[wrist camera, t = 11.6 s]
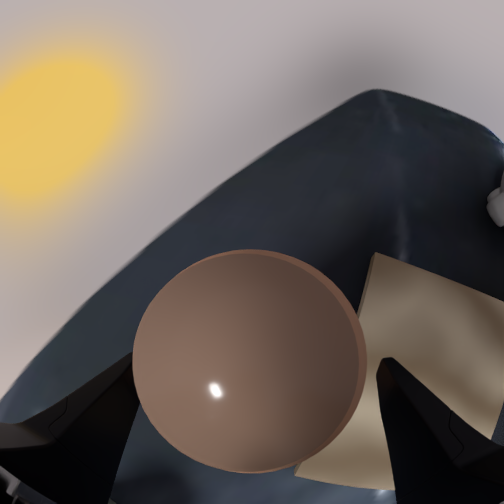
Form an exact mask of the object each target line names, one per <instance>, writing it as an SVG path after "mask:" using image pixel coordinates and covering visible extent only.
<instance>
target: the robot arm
mask: <svg viewBox="0 0 504 504" xmlns="http://www.w3.org/2000/svg"><path fill="white" fill-rule="evenodd" d="M376 382H377V389H378V398H379V406H380V413H381V418H382V423H383V427H384V432H385V436H386V441H387V446H388V451H389V457H390V462H391V468H392V474H393V480H394V487H395V494H396V501H397V504H504V446H501V445H498V444H496V443H494V442H493V441H491V440H490V439H488V438H487V437H486V436H484V435H483V434H481V433H480V432H479V431H477V430H476V429H474V428H473V427H472V426H471V425H469V424H468V423H467V422H465V421H464V420H463V419H462V418H461V417H459V416H458V415H457V414H456V413H455V412H454V411H453V410H451V409H450V408H449V407H448V406H447V405H446V404H445V403H444V402H443V401H442V400H440V399H439V398H438V397H437V396H436V395H435V394H434V393H433V392H432V391H430V390H429V389H428V388H427V387H426V386H425V385H424V384H423V383H421V382H420V381H419V380H418V379H417V378H416V377H415V376H414V375H413V374H411V373H410V372H409V371H408V370H407V369H406V368H405V367H403V366H402V365H401V364H400V363H399V362H398V361H397V360H396V359H394V358H393V357H386V358H382V359H381V361H380V364H379V367H378V370H377V372H376ZM139 404H140V400H139V397H138V394H137V390H136V387H135V383H134V376H133V352H130V353H129V354H127V355H126V356H124V357H123V358H122V359H120V360H119V361H117V362H116V363H114V364H113V365H112V366H110V367H109V368H107V369H106V370H104V371H103V372H101V373H100V374H98V375H97V376H96V377H94V378H93V379H91V380H90V381H88V382H87V383H85V384H84V385H83V386H81V387H80V388H78V389H77V390H75V391H74V392H72V393H71V394H69V395H68V396H66V397H65V398H63V399H62V400H60V401H59V402H57V403H56V404H54V405H53V406H51V407H49V408H47V409H46V410H44V411H42V412H40V413H38V414H36V415H34V416H33V417H31V418H29V419H27V420H25V421H23V422H20V423H15V424H10V423H0V504H108V502H109V498H110V494H111V491H112V487H113V484H114V480H115V477H116V474H117V470H118V467H119V464H120V461H121V457H122V454H123V451H124V448H125V445H126V442H127V439H128V436H129V433H130V430H131V427H132V424H133V421H134V419H135V416H136V413H137V410H138V407H139Z"/></svg>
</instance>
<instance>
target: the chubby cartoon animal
mask: <svg viewBox="0 0 504 504" xmlns="http://www.w3.org/2000/svg"><path fill="white" fill-rule="evenodd" d="M487 201H488V204H487V211H488V213H489V215H490V217H491V218H492V220H493V221H494V222H495V224H496V225H497V226H499V227H502V226H504V172H503V175H502V180H501V187H499V188H497V189H495V190H494V191H492V192H491V193H490V194H489V196H488V197H487Z"/></svg>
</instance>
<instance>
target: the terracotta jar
mask: <svg viewBox="0 0 504 504" xmlns="http://www.w3.org/2000/svg"><path fill="white" fill-rule="evenodd" d="M366 373H367V351H366V343H365V339H364V334H363V330H362V327H361V325H360V322H359V319H358V317H357V315H356V313H355V311H354V309H353V307H352V306H351V304H350V302H349V301H348V300H347V298H346V297H345V295H344V294H343V293H342V291H341V290H340V289H339V288H338V287H337V286H336V285H335V284H334V283H333V282H332V281H331V280H330V279H329V278H327V277H326V276H325V275H324V274H322V273H321V272H320V271H318V270H317V269H315V268H314V267H312V266H310V265H309V264H307V263H305V262H303V261H301V260H298V259H296V258H294V257H291V256H288V255H284V254H281V253H277V252H272V251H266V250H251V249H249V250H235V251H230V252H224V253H220V254H217V255H214V256H211V257H207V258H205V259H203V260H201V261H199V262H197V263H194V264H193V265H191V266H189V267H188V268H186V269H185V270H183V271H181V272H180V273H179V274H178V275H177V276H175V277H174V278H173V279H172V280H170V281H169V282H168V283H167V284H166V285H165V286H164V287H163V288H162V289H161V290H160V291H159V292H158V294H157V295H156V296H155V298H154V299H153V300H152V302H151V303H150V304H149V306H148V308H147V310H146V311H145V313H144V315H143V317H142V319H141V322H140V324H139V327H138V330H137V333H136V337H135V341H134V348H133V376H134V383H135V387H136V390H137V394H138V397H139V400H140V402H141V404H142V407H143V409H144V411H145V413H146V414H147V416H148V418H149V420H150V421H151V423H152V424H153V425H154V427H155V428H156V429H157V430H158V432H159V433H160V434H161V435H162V436H163V437H164V438H165V439H166V440H167V441H168V442H169V443H170V444H171V445H173V446H174V447H175V448H176V449H178V450H179V451H180V452H182V453H184V454H185V455H187V456H189V457H190V458H192V459H194V460H196V461H198V462H201V463H203V464H205V465H208V466H211V467H215V468H218V469H222V470H226V471H232V472H239V473H263V472H271V471H277V470H280V469H284V468H288V467H291V466H293V465H296V464H298V463H301V462H303V461H305V460H307V459H309V458H310V457H312V456H314V455H316V454H317V453H319V452H320V451H321V450H323V449H324V448H325V447H326V446H328V445H329V444H330V443H331V442H332V441H333V440H334V439H335V438H336V437H337V436H338V435H339V434H340V433H341V432H342V430H343V429H344V428H345V426H346V425H347V424H348V422H349V421H350V419H351V418H352V416H353V414H354V412H355V410H356V408H357V406H358V404H359V401H360V399H361V396H362V393H363V389H364V385H365V380H366Z"/></svg>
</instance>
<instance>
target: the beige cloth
mask: <svg viewBox="0 0 504 504" xmlns="http://www.w3.org/2000/svg"><path fill="white" fill-rule="evenodd" d="M357 317H358V319H359V322H360V325H361V327H362V330H363V334H364V339H365V343H366V351H367V373H366V380H365V385H364V389H363V393H362V396H361V399H360V401H359V404H358V406H357V408H356V410H355V412H354V414H353V416H352V418H351V419H350V421H349V422H348V424H347V425H346V426H345V428H344V429H343V430H342V432H341V433H340V434H339V435H338V436H337V437H336V438H335V439H334V440H333V441H332V442H331V443H330V444H329V445H328V446H326V447H325V448H324V449H323V450H321V451H320V452H319V453H317V454H316V455H314V456H312V457H310V458H309V459H307V460H305V461H303V462H301V463H298V464H297V465H296V467H295V469H294V474H295V476H298V477H303V478H307V479H312V480H316V481H321V482H326V483H332V484H338V485H345V486H352V487H360V488H369V489H382V490H395V487H394V480H393V474H392V468H391V462H390V457H389V451H388V446H387V441H386V436H385V432H384V427H383V423H382V418H381V413H380V406H379V398H378V389H377V382H376V372H377V370H378V367H379V364H380V361H381V359H382V358H386V357H393V358H394V359H396V360H397V361H398V362H399V363H400V364H401V365H402V366H403V367H405V368H406V369H407V370H408V371H409V372H410V373H411V374H413V375H414V376H415V377H416V378H417V379H418V380H419V381H420V382H421V383H423V384H424V385H425V386H426V387H427V388H428V389H429V390H430V391H432V392H433V393H434V394H435V395H436V396H437V397H438V398H439V399H440V400H442V401H443V402H444V403H445V404H446V405H447V406H448V407H449V408H450V409H451V410H453V411H454V412H455V413H456V414H457V415H458V416H459V417H461V418H462V419H463V420H464V421H465V422H467V423H468V424H469V425H471V426H472V427H473V428H474V429H476V430H477V431H479V432H480V433H481V434H483V435H484V436H486V437H487V438H488V439H490V440H491V437H492V434H493V432H494V429H495V426H496V423H497V420H498V417H499V414H500V411H501V408H502V405H503V401H504V302H503V301H501V300H498V299H496V298H494V297H491V296H489V295H486V294H484V293H482V292H479V291H477V290H474V289H472V288H469V287H467V286H465V285H462V284H460V283H457V282H455V281H452V280H449V279H447V278H444V277H442V276H439V275H437V274H434V273H431V272H429V271H426V270H423V269H421V268H418V267H415V266H413V265H410V264H407V263H405V262H402V261H399V260H396V259H394V258H391V257H388V256H385V255H382V254H380V253H377V252H375V253H374V255H373V256H372V257H371V261H370V265H369V270H368V274H367V278H366V282H365V286H364V290H363V294H362V297H361V301H360V305H359V308H358V312H357Z"/></svg>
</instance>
